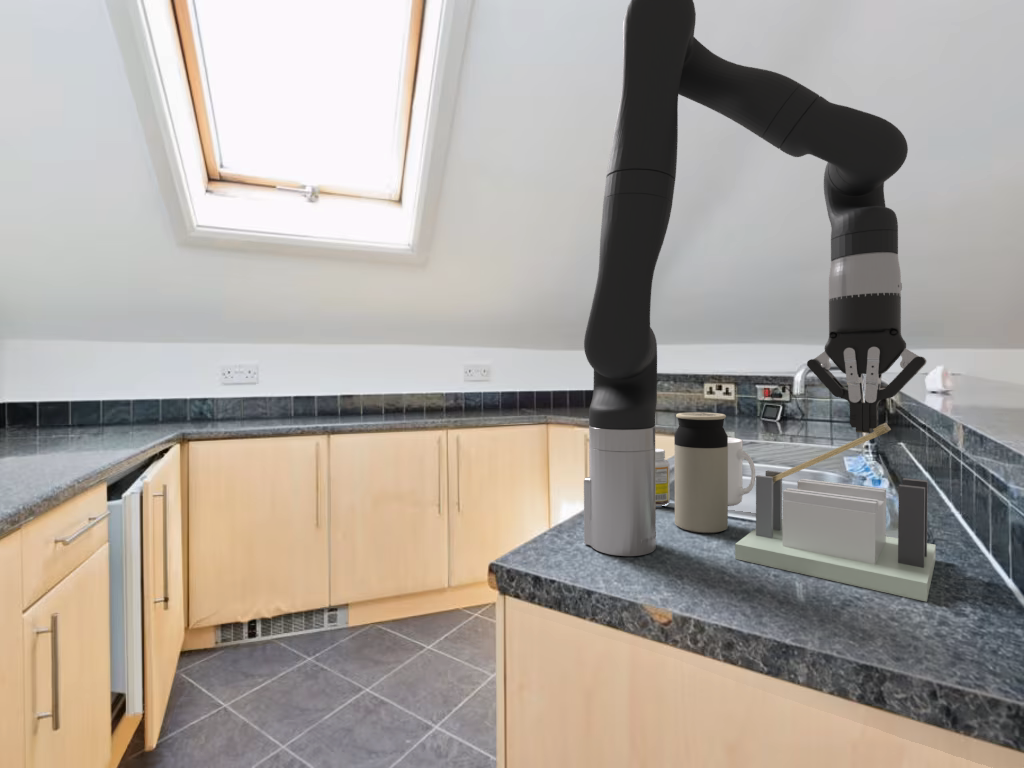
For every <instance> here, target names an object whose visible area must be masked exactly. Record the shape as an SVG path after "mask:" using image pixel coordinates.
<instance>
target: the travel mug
mask: <svg viewBox="0 0 1024 768" xmlns="http://www.w3.org/2000/svg"><path fill="white" fill-rule="evenodd" d="M675 415H676V416H675V417H676V418H677V422H678V423H677V424H678V427H677V428H676V431H675V433H674V442H673V443H674V524H675V525H676V526H677V527H678V528H680V529H682V530H684V531H688V532H692V533H697V534H717V533H721V532H723V531H726V530H728V527H729V525H728V524H729V521H728V520H729V519H728V518H729V517H728V516H729V513H728V512H729V510H728V509H729V506H728V434H727V431H726V430H725V428H724V422H725V419H726V418H727V415H726V414H724V413H717V412H696V411H695V412H679V413H677V414H675Z"/></svg>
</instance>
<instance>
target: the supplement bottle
mask: <svg viewBox="0 0 1024 768" xmlns="http://www.w3.org/2000/svg"><path fill="white" fill-rule="evenodd" d="M670 475H671V474H670V462H669V461H668V460H667V459H666V451H665V449H662V448H655V476H656V506H662V505H665V504H667V503H669V502H671V496H670V492H671V491H670V489H671V488H670V487H671V486H670V480H671V479H670ZM669 504H670V503H669Z"/></svg>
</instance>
